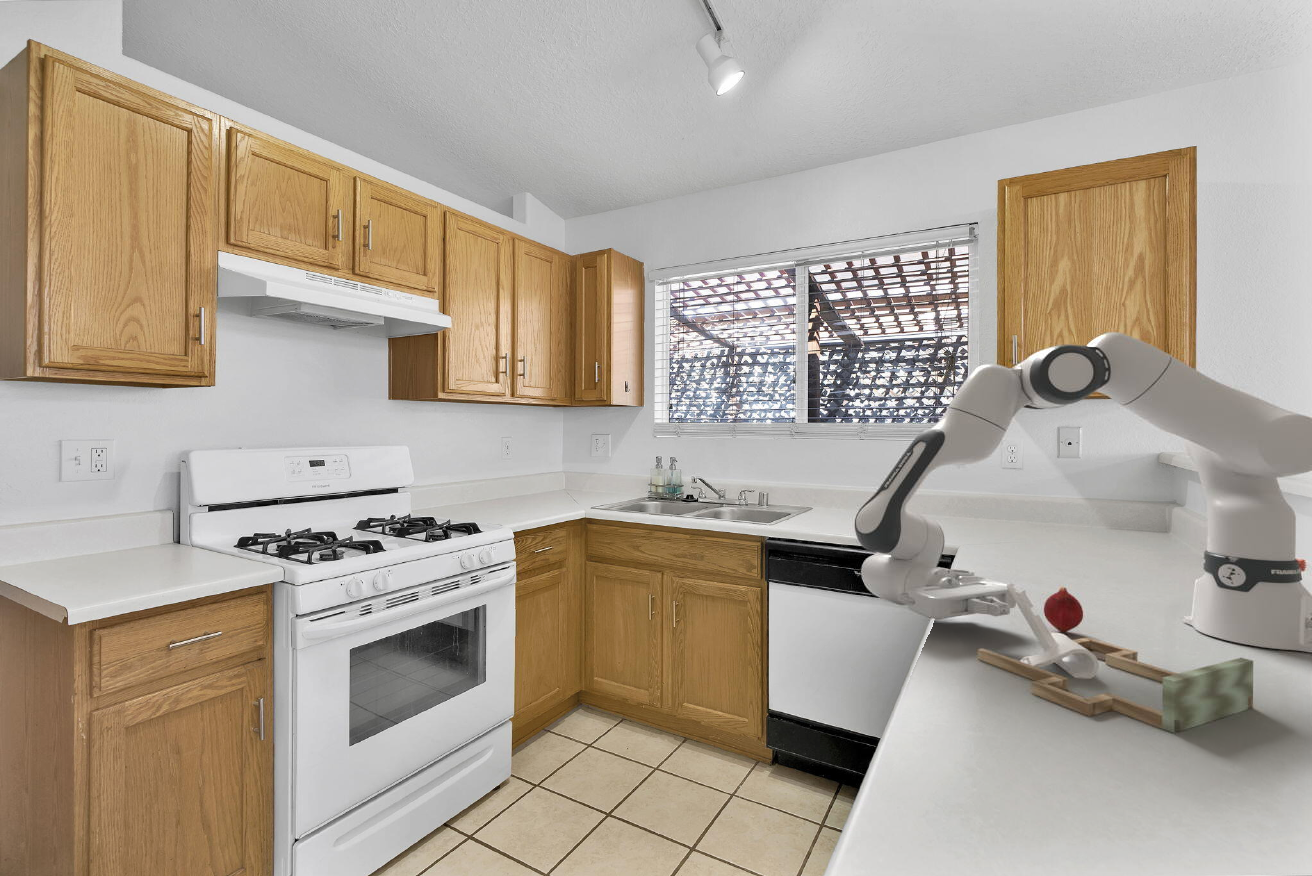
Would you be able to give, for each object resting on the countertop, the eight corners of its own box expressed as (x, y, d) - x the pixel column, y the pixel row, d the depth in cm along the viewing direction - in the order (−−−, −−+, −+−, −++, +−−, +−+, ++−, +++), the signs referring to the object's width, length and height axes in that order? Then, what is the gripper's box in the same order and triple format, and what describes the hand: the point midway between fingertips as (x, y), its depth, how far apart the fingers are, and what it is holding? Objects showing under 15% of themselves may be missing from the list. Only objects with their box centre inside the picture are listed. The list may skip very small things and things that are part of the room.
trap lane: (1069, 641, 104) (1070, 605, 104) (1271, 701, 80) (1271, 655, 80) (956, 663, 93) (956, 623, 93) (1150, 740, 70) (1151, 687, 70)
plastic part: (1098, 680, 87) (1100, 598, 87) (1022, 674, 89) (1023, 594, 89) (1072, 661, 95) (1074, 586, 95) (1002, 656, 97) (1004, 582, 97)
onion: (1089, 639, 105) (1089, 592, 105) (1052, 636, 106) (1052, 590, 106) (1073, 628, 111) (1074, 584, 111) (1038, 626, 112) (1038, 582, 112)
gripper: (891, 578, 109) (958, 597, 96) (973, 569, 117) (1044, 585, 105) (891, 614, 109) (958, 638, 96) (973, 602, 117) (1044, 622, 105)
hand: (1003, 610), depth 101 cm, fingers closed
